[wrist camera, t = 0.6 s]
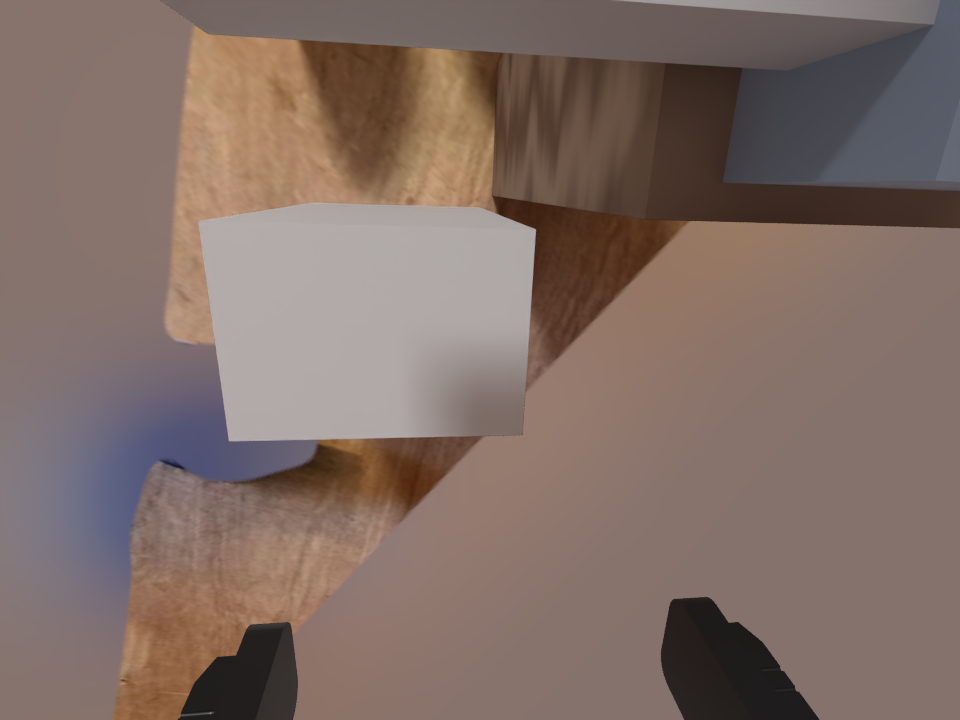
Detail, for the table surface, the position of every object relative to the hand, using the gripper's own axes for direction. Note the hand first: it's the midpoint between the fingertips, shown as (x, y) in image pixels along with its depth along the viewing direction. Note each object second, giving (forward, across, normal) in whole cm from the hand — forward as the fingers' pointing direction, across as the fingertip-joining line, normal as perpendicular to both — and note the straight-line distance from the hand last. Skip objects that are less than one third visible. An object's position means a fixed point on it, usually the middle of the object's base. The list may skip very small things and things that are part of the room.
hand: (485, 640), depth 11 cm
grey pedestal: (+37, +3, -2) cm, 38 cm away
